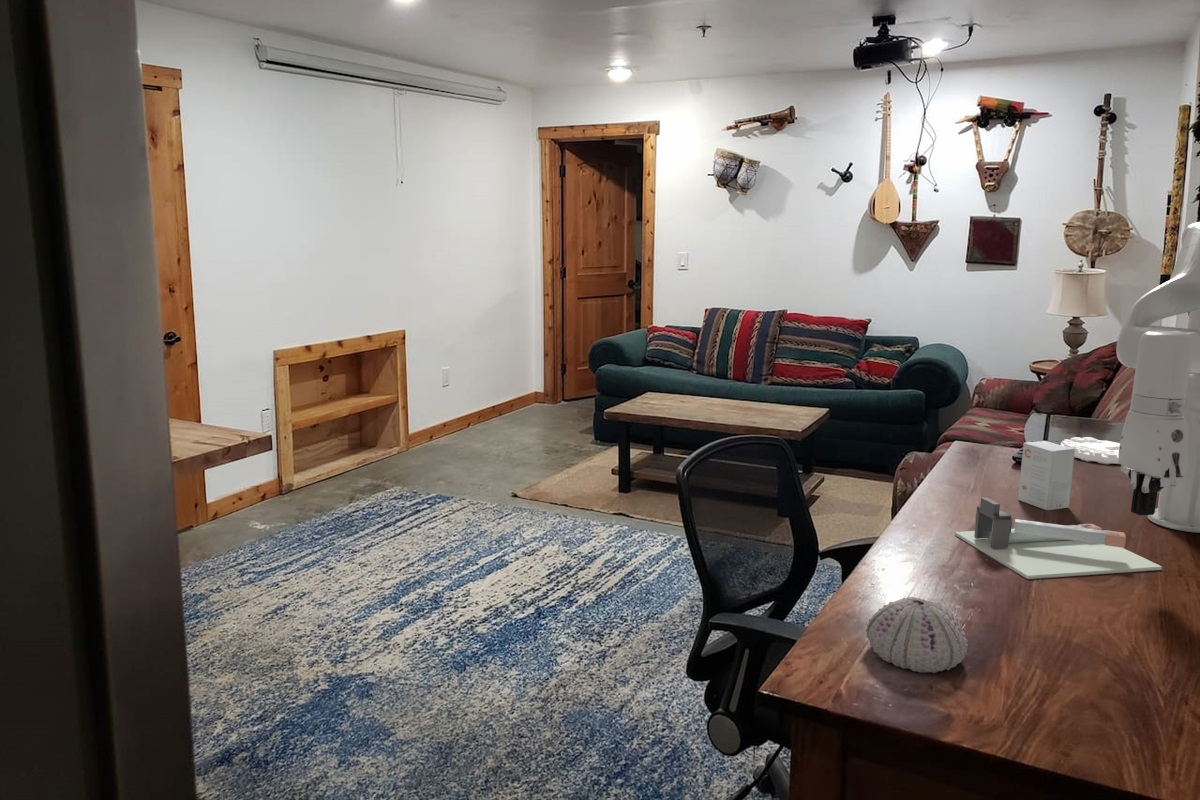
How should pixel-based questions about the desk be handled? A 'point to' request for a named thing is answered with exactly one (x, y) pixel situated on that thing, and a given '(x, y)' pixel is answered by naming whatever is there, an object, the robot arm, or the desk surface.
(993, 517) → the lock collar
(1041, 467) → the small box
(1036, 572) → the mat
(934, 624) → the sea urchin shell
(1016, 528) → the jaw
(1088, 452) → the embossed medallion
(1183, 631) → the desk surface
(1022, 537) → the base
